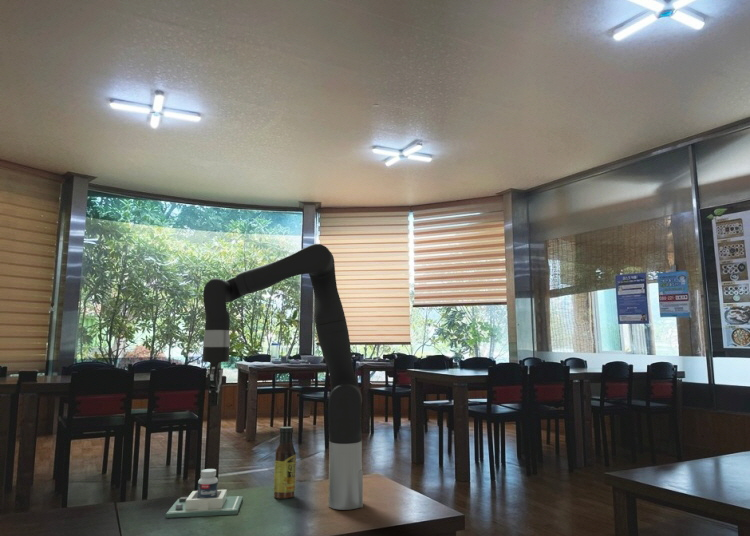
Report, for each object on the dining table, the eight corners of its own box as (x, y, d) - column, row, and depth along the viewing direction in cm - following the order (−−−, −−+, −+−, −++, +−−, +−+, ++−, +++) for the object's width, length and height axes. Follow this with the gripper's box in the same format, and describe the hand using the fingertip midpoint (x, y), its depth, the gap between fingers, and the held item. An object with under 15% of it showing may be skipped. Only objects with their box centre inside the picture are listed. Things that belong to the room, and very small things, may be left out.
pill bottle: (197, 507, 136) (199, 473, 138) (195, 502, 141) (197, 469, 142) (218, 505, 138) (219, 471, 140) (215, 500, 143) (217, 467, 144)
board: (242, 499, 147) (243, 486, 148) (237, 514, 134) (237, 500, 134) (178, 502, 145) (178, 489, 145) (165, 517, 131) (166, 503, 132)
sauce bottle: (290, 500, 146) (291, 429, 150) (270, 499, 148) (272, 428, 151) (298, 494, 153) (299, 426, 156) (278, 493, 154) (280, 425, 157)
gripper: (226, 345, 145) (223, 407, 142) (232, 346, 158) (229, 403, 155) (199, 345, 144) (195, 408, 141) (207, 346, 157) (204, 403, 154)
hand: (213, 405), depth 148 cm, fingers closed
